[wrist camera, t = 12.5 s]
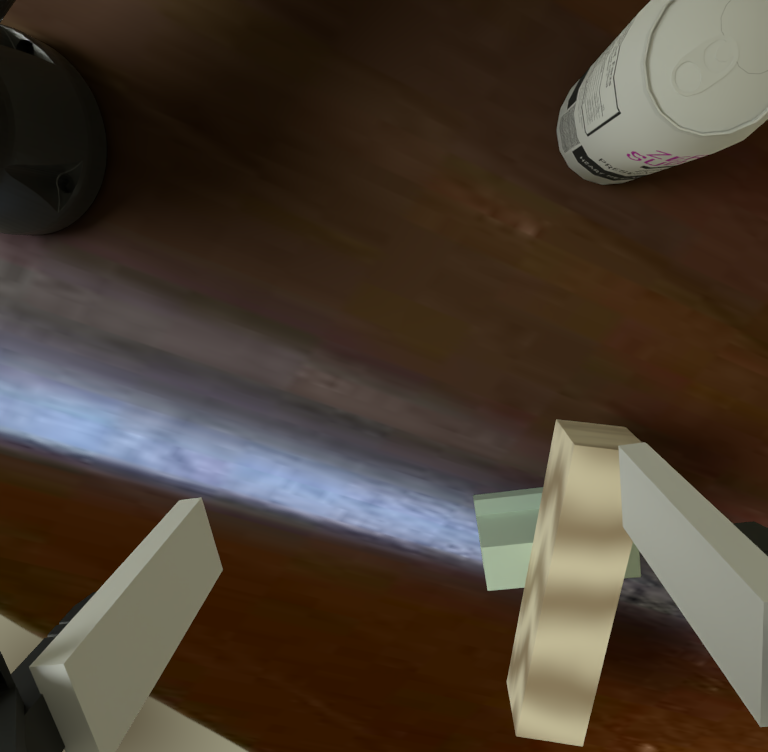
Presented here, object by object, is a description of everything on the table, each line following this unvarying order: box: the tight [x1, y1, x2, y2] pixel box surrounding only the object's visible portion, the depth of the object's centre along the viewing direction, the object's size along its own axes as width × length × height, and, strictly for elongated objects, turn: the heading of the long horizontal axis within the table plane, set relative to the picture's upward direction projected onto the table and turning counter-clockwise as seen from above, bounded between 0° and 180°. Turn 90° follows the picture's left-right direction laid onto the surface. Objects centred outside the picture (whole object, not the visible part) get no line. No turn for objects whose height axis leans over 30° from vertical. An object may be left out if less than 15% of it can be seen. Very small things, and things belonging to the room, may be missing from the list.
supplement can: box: [557, 0, 768, 185], centre depth 30 cm, size 8×8×15 cm
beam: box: [507, 419, 642, 746], centre depth 38 cm, size 24×5×5 cm, turn 175°
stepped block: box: [473, 487, 641, 591], centre depth 43 cm, size 12×7×6 cm, turn 100°
